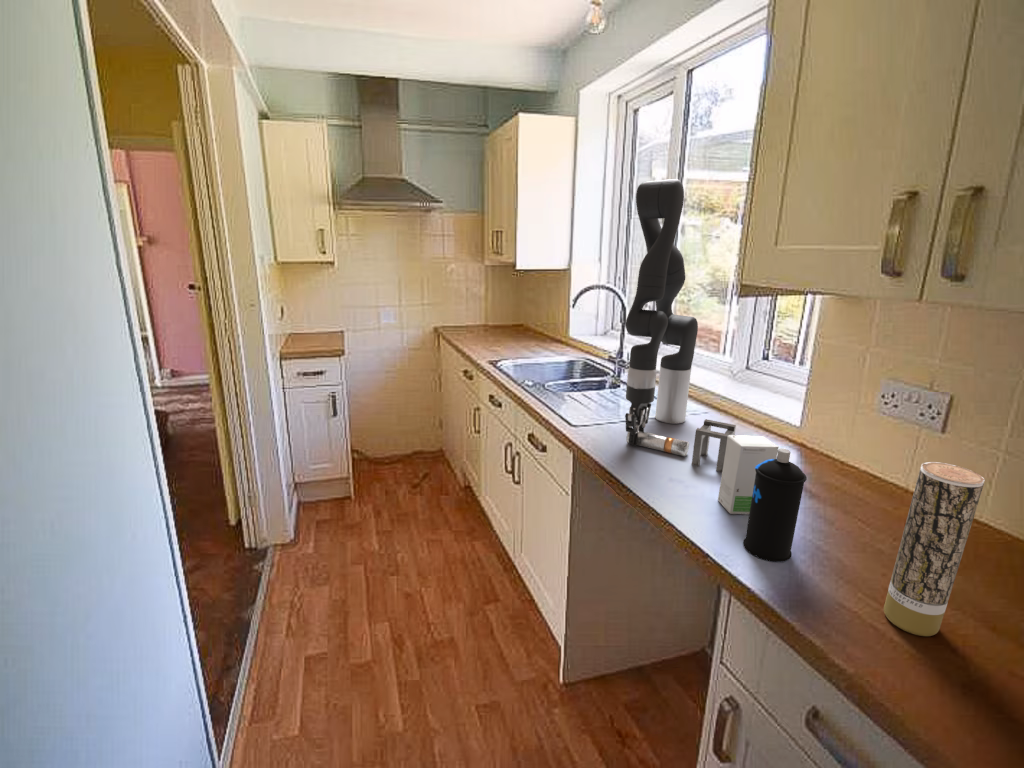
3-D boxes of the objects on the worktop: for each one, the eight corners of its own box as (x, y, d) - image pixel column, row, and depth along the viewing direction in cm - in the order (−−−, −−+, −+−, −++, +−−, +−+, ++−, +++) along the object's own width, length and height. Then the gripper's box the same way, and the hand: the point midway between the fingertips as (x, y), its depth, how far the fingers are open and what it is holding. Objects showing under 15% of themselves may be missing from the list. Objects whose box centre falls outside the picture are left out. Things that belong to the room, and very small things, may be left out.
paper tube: (929, 646, 72) (976, 488, 65) (875, 618, 78) (913, 469, 71) (944, 626, 76) (991, 475, 69) (892, 600, 82) (930, 458, 75)
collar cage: (701, 452, 137) (705, 419, 135) (731, 459, 133) (736, 425, 130) (691, 464, 130) (695, 429, 127) (722, 472, 125) (727, 436, 123)
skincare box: (729, 515, 106) (739, 446, 102) (716, 499, 113) (725, 434, 108) (768, 514, 107) (780, 446, 102) (753, 499, 113) (763, 434, 108)
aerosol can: (797, 549, 95) (817, 451, 89) (782, 568, 89) (802, 464, 83) (752, 531, 100) (768, 438, 95) (735, 548, 95) (751, 450, 89)
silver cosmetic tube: (626, 445, 142) (626, 432, 140) (631, 438, 145) (632, 426, 143) (683, 459, 133) (684, 445, 132) (688, 452, 136) (689, 438, 135)
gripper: (637, 376, 145) (632, 432, 150) (617, 387, 134) (613, 447, 138) (663, 380, 141) (657, 437, 146) (645, 392, 130) (639, 453, 134)
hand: (635, 442), depth 142 cm, fingers closed on silver cosmetic tube, 4 cm apart
